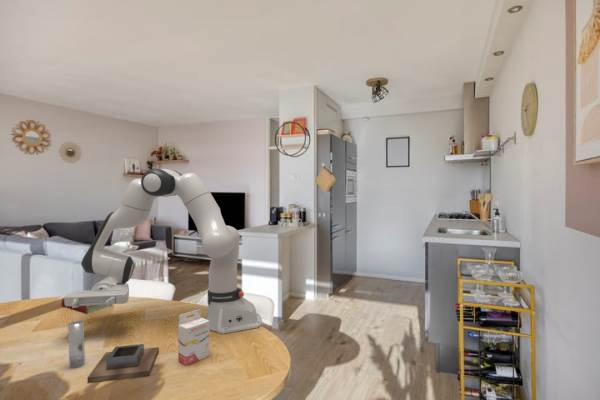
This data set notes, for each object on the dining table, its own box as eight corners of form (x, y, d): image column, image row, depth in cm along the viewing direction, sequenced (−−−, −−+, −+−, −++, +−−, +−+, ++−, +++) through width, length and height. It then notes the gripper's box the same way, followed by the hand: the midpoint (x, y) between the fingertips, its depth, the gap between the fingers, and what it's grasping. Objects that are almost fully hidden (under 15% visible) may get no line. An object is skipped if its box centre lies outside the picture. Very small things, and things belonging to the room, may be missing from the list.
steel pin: (86, 361, 106) (85, 320, 106) (81, 367, 102) (80, 325, 102) (72, 362, 105) (71, 321, 105) (66, 369, 101) (65, 326, 101)
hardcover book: (87, 315, 146) (86, 305, 146) (61, 307, 156) (61, 298, 156) (113, 306, 157) (113, 297, 157) (88, 299, 167) (88, 291, 167)
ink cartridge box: (186, 366, 103) (186, 319, 102) (177, 361, 106) (177, 315, 105) (210, 355, 109) (209, 311, 109) (201, 351, 112) (200, 307, 112)
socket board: (158, 351, 112) (158, 347, 112) (148, 375, 98) (148, 370, 98) (106, 356, 109) (105, 352, 109) (87, 382, 94) (87, 377, 94)
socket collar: (144, 353, 108) (144, 343, 108) (137, 366, 100) (137, 356, 100) (115, 356, 106) (115, 346, 106) (106, 369, 98) (106, 359, 98)
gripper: (73, 285, 126) (55, 297, 113) (132, 283, 131) (122, 294, 117) (73, 302, 126) (55, 315, 113) (132, 299, 131) (122, 312, 117)
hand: (90, 304), depth 115 cm, fingers open, 8 cm apart
